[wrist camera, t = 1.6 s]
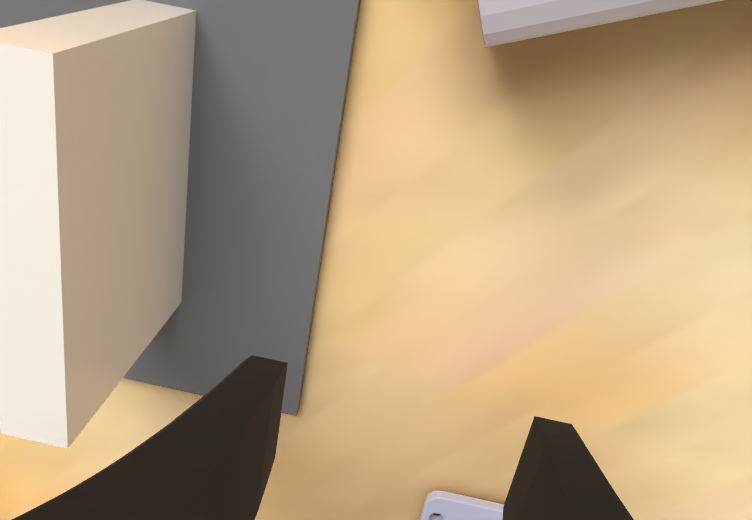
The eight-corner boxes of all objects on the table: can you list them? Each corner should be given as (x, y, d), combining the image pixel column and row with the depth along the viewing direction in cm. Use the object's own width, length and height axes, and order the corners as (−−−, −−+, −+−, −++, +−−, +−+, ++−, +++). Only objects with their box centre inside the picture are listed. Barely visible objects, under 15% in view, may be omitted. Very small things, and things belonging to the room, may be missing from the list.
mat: (298, 408, 24) (296, 415, 24) (-88, 323, 25) (-96, 329, 24) (363, -21, 18) (360, -20, 18) (-155, -122, 18) (-167, -123, 18)
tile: (181, 302, 22) (67, 448, 16) (128, 290, 22) (-6, 432, 16) (196, 10, 18) (52, 53, 12) (131, -3, 18) (-45, 34, 12)
